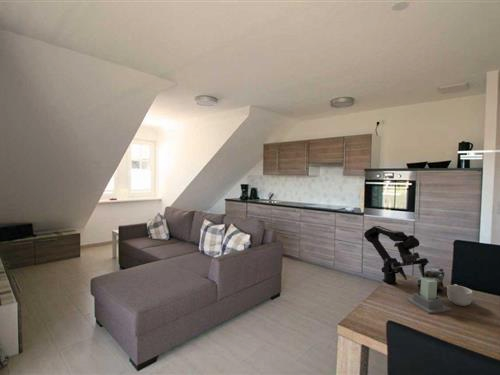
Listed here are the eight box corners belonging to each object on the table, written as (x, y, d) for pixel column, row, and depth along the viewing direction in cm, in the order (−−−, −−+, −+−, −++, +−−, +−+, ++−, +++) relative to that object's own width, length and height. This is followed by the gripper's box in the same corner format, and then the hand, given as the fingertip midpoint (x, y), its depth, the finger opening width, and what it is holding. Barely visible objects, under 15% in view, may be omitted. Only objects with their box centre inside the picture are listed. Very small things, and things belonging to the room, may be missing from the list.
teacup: (472, 310, 136) (473, 295, 135) (445, 303, 142) (446, 289, 141) (470, 299, 147) (471, 285, 146) (446, 294, 153) (447, 280, 153)
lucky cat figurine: (411, 283, 167) (416, 262, 171) (428, 290, 168) (432, 269, 171) (430, 286, 153) (435, 263, 156) (449, 294, 153) (453, 271, 157)
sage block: (419, 301, 142) (421, 278, 141) (428, 300, 143) (429, 277, 142) (427, 306, 137) (428, 282, 137) (435, 305, 138) (437, 281, 137)
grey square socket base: (406, 300, 145) (406, 291, 145) (426, 297, 149) (426, 288, 148) (429, 313, 132) (429, 304, 132) (450, 310, 135) (451, 301, 135)
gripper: (391, 250, 151) (401, 278, 144) (425, 245, 148) (438, 273, 140) (387, 255, 161) (396, 282, 153) (419, 250, 158) (431, 277, 150)
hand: (415, 278), depth 149 cm, fingers open, 9 cm apart
